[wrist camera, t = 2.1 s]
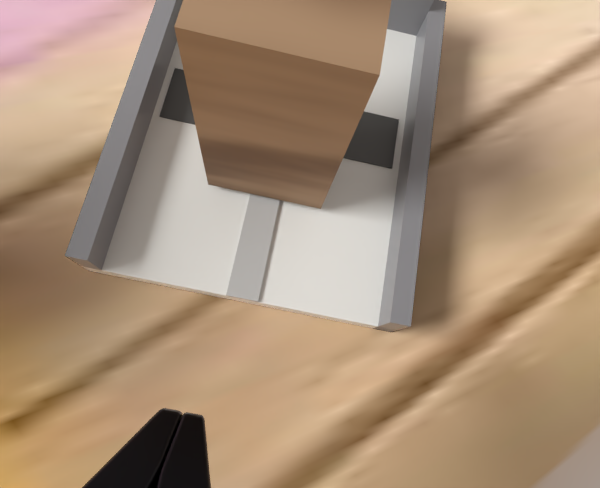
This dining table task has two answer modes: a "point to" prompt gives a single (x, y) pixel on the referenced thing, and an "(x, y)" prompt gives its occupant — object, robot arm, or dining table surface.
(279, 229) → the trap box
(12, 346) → the dining table surface
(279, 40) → the slider
